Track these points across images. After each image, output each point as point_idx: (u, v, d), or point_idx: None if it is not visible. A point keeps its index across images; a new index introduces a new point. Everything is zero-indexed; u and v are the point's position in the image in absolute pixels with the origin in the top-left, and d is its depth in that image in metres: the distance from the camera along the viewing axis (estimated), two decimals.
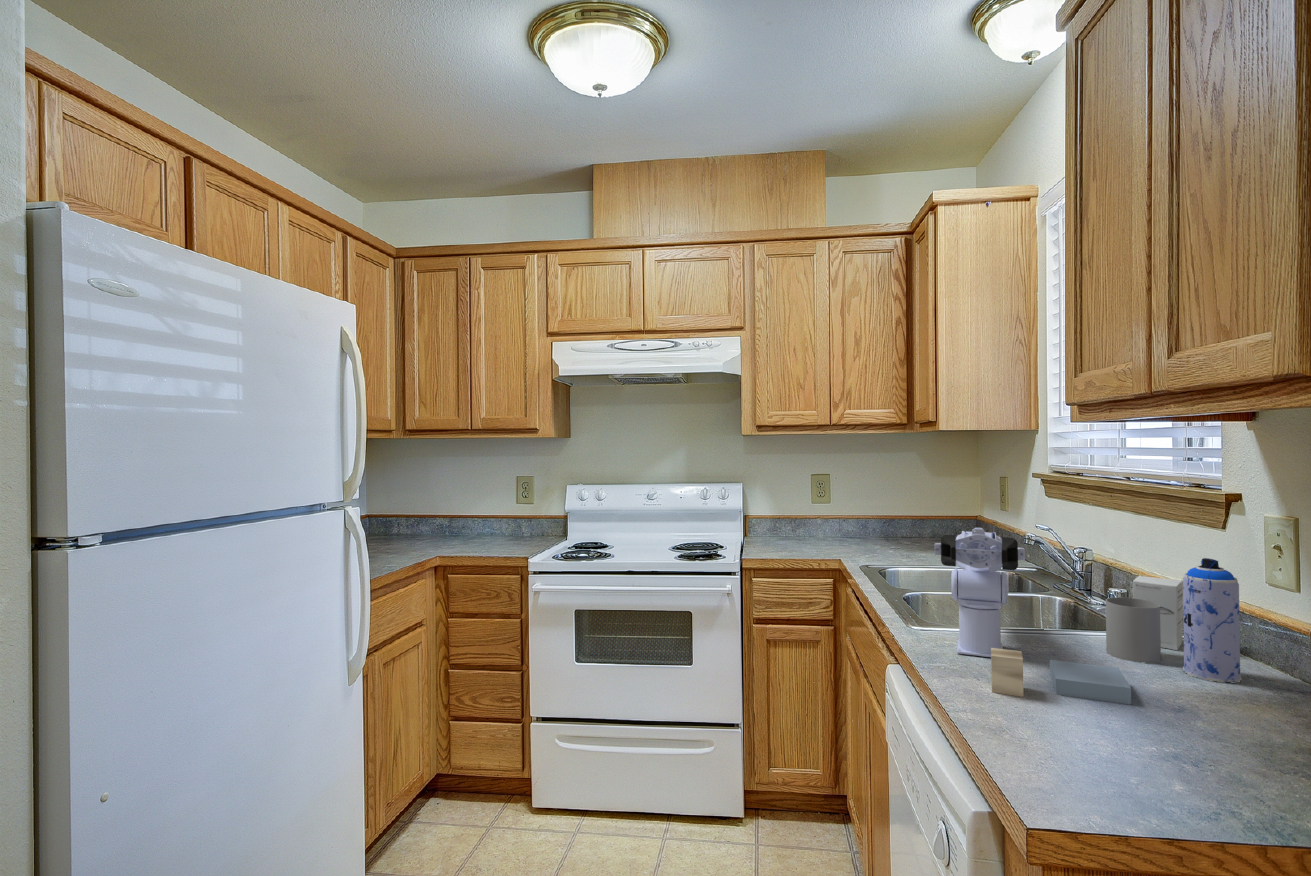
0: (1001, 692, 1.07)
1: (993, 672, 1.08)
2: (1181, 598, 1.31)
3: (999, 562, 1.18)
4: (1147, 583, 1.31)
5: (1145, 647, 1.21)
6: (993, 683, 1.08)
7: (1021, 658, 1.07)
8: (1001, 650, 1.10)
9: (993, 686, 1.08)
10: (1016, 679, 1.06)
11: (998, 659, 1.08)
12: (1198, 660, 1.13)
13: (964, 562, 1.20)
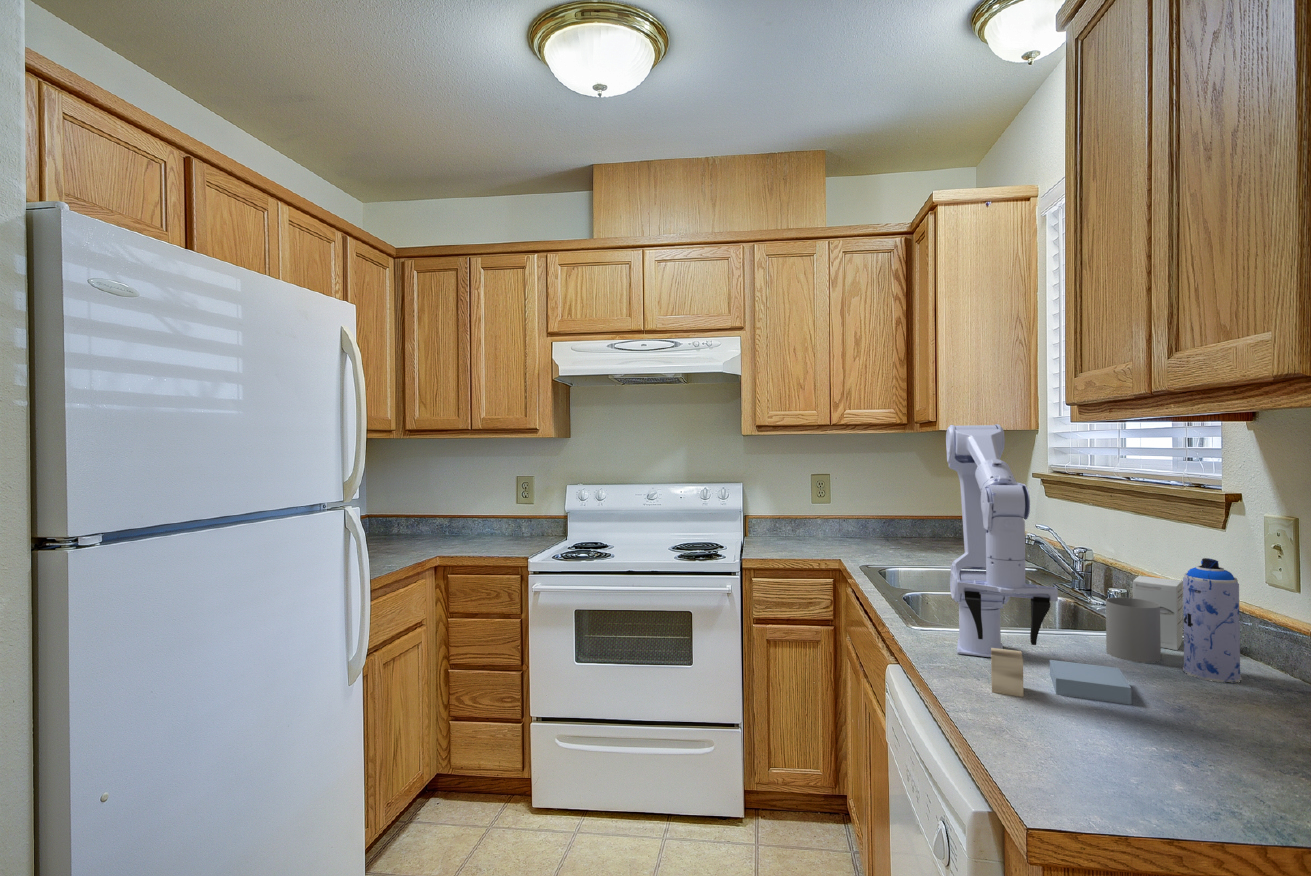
0: (1001, 692, 1.07)
1: (993, 672, 1.08)
2: (1181, 598, 1.31)
3: None
4: (1147, 583, 1.31)
5: (1145, 647, 1.21)
6: (993, 683, 1.08)
7: (1021, 658, 1.07)
8: (1001, 650, 1.10)
9: (993, 686, 1.08)
10: (1016, 679, 1.06)
11: (998, 659, 1.08)
12: (1198, 660, 1.13)
13: None
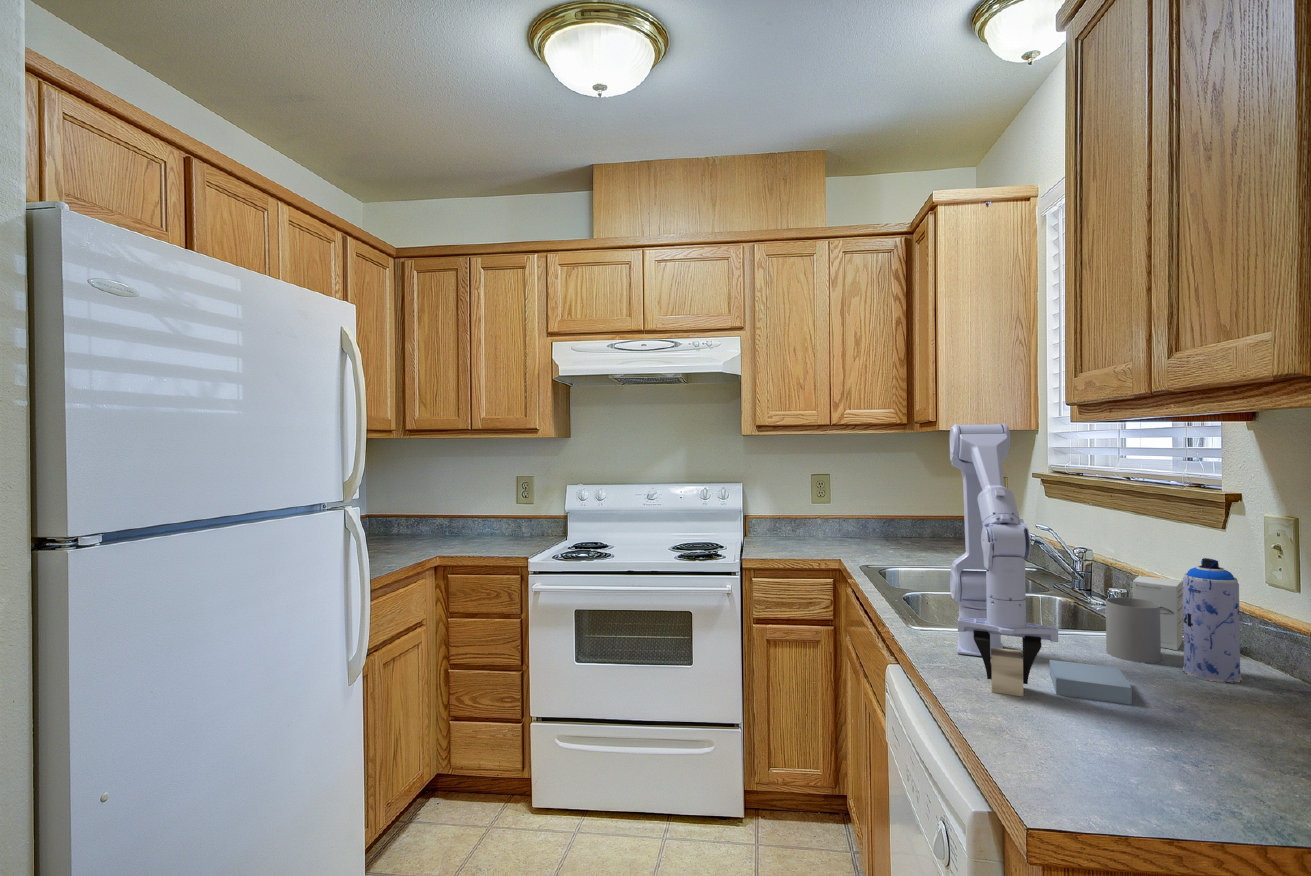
0: (1001, 692, 1.07)
1: (993, 672, 1.08)
2: (1181, 598, 1.31)
3: None
4: (1147, 583, 1.31)
5: (1145, 647, 1.21)
6: (993, 683, 1.08)
7: (1021, 658, 1.07)
8: (1001, 650, 1.10)
9: (993, 686, 1.08)
10: (1016, 679, 1.06)
11: (998, 659, 1.08)
12: (1198, 660, 1.13)
13: None
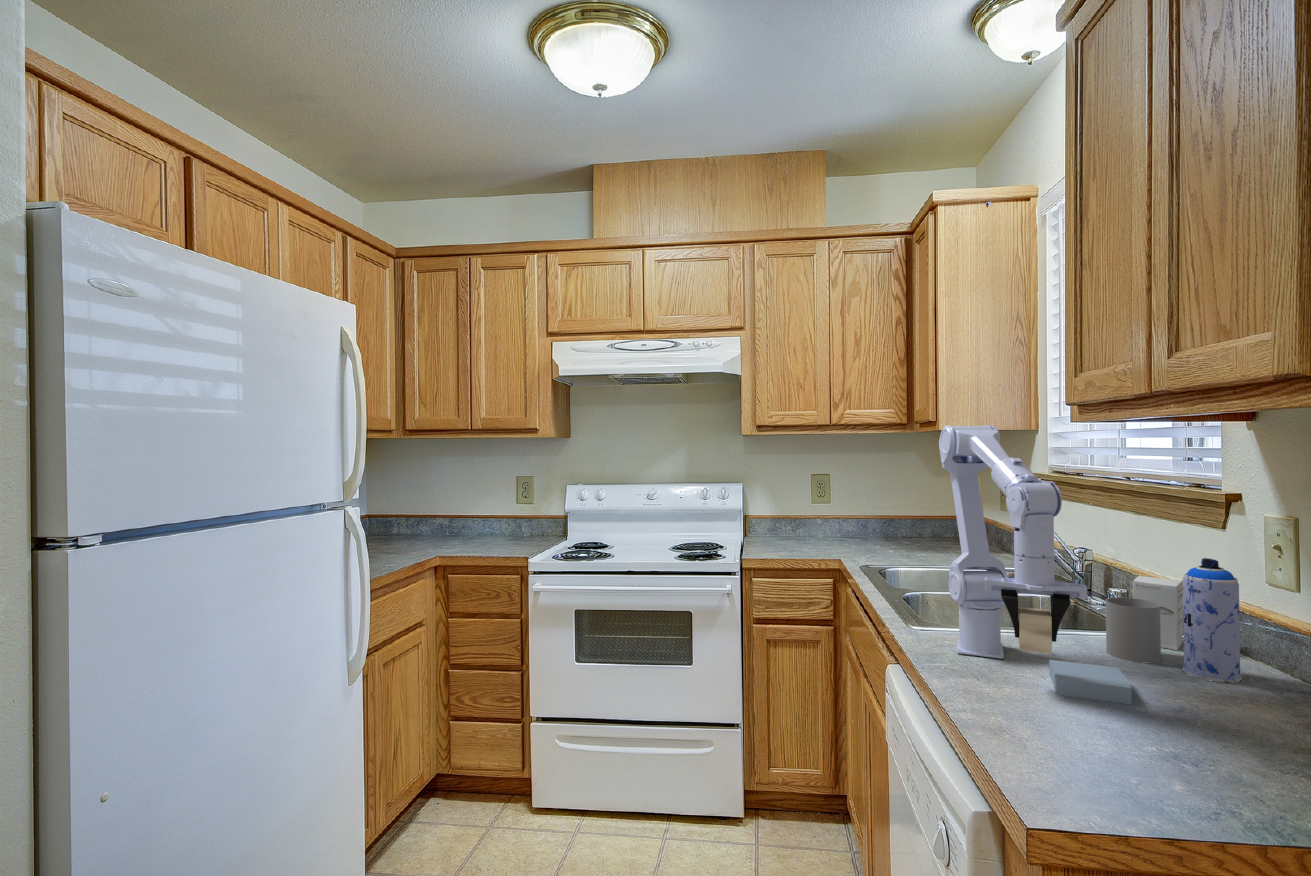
0: (1029, 650, 1.07)
1: (1021, 630, 1.08)
2: (1181, 598, 1.31)
3: None
4: (1147, 583, 1.31)
5: (1145, 647, 1.21)
6: (1021, 641, 1.08)
7: (1050, 616, 1.07)
8: (1029, 609, 1.10)
9: (1021, 644, 1.08)
10: (1044, 637, 1.06)
11: (1026, 617, 1.08)
12: (1198, 660, 1.13)
13: None
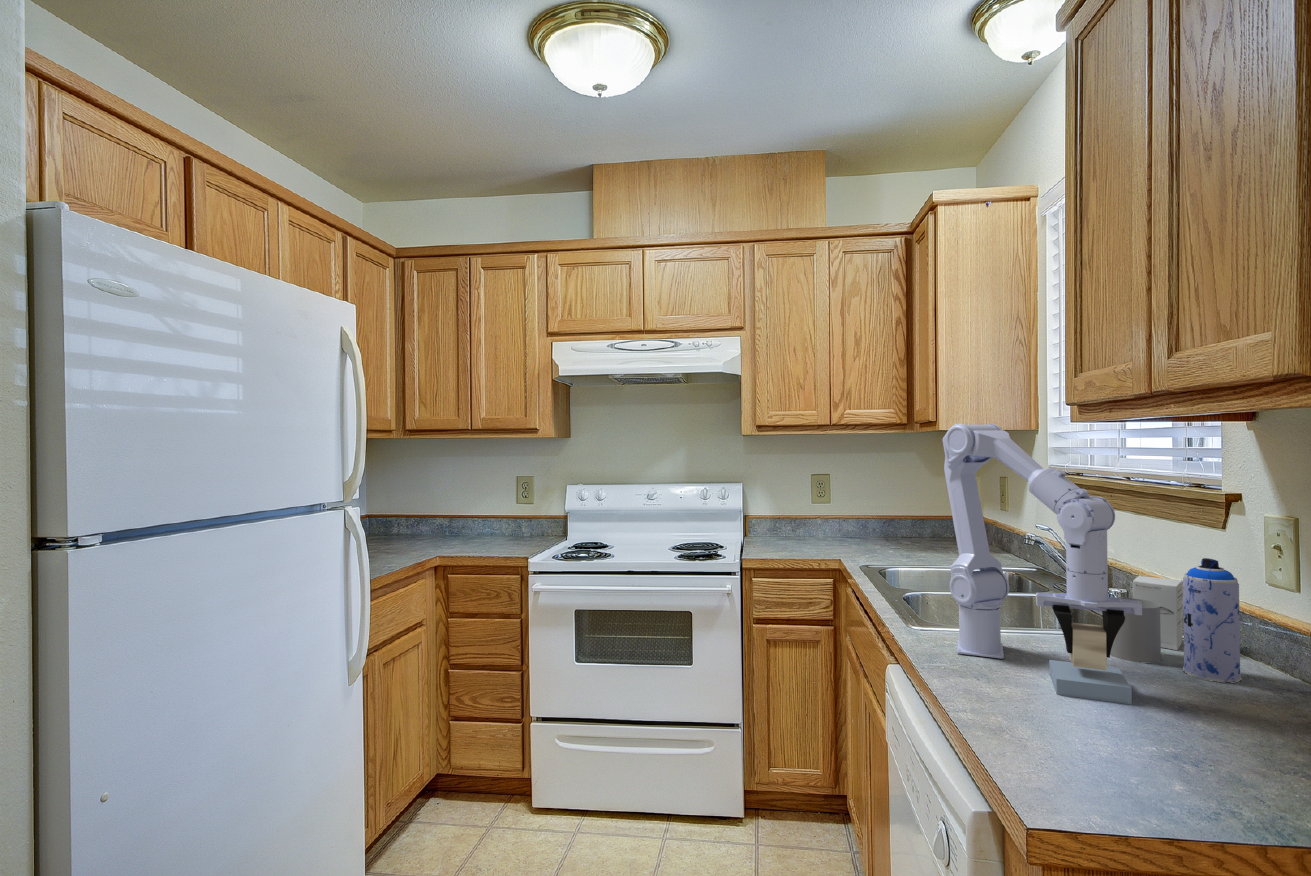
0: (1083, 666, 1.07)
1: (1075, 646, 1.08)
2: (1181, 598, 1.31)
3: None
4: (1147, 583, 1.31)
5: (1145, 647, 1.21)
6: (1075, 657, 1.08)
7: (1104, 632, 1.07)
8: (1081, 625, 1.10)
9: (1075, 660, 1.08)
10: (1099, 653, 1.06)
11: (1080, 633, 1.08)
12: (1198, 660, 1.13)
13: None
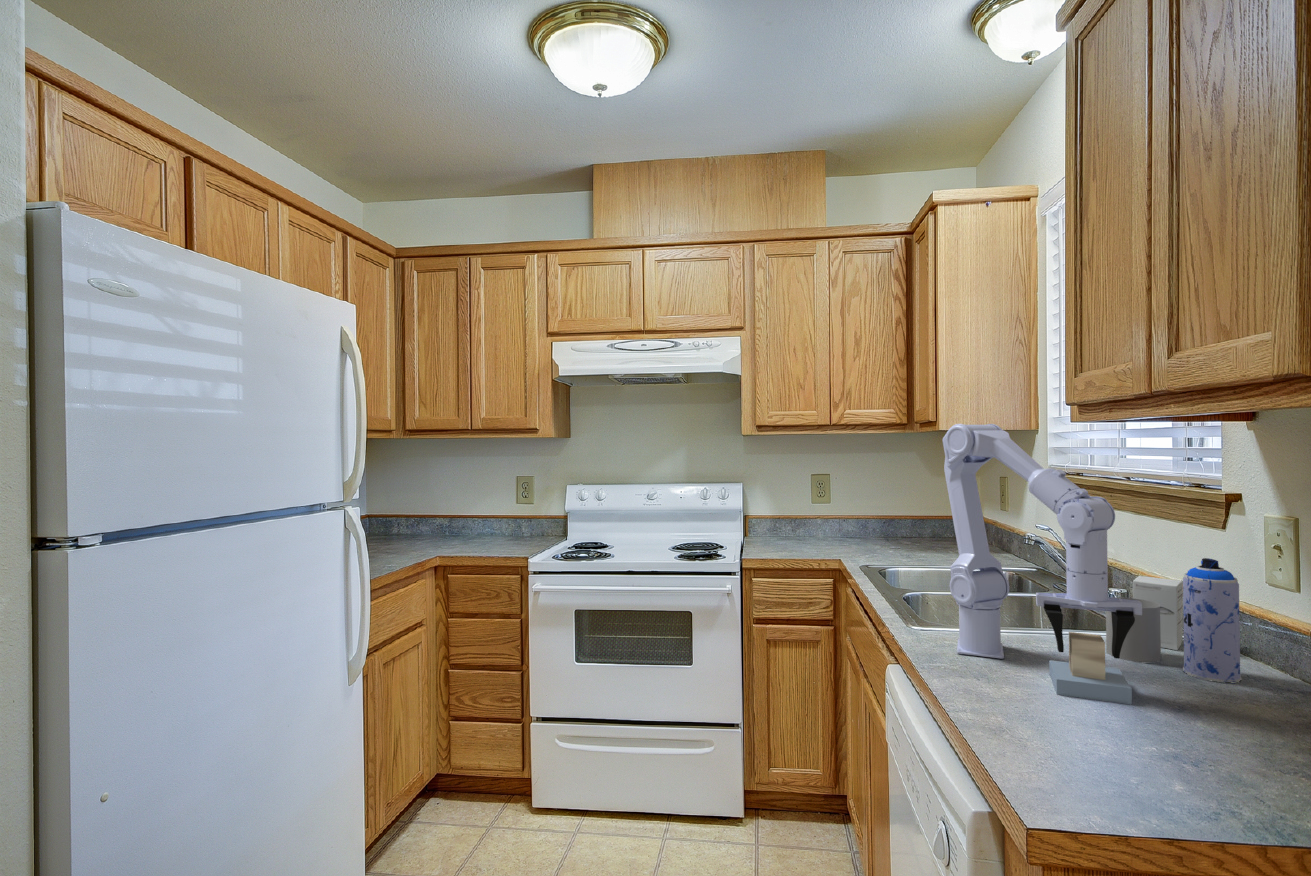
0: (1082, 675, 1.08)
1: (1074, 655, 1.08)
2: (1181, 598, 1.31)
3: None
4: (1147, 583, 1.31)
5: (1145, 647, 1.21)
6: (1074, 666, 1.08)
7: (1103, 641, 1.07)
8: (1080, 634, 1.10)
9: (1074, 669, 1.08)
10: (1097, 662, 1.07)
11: (1079, 643, 1.08)
12: (1198, 660, 1.13)
13: None
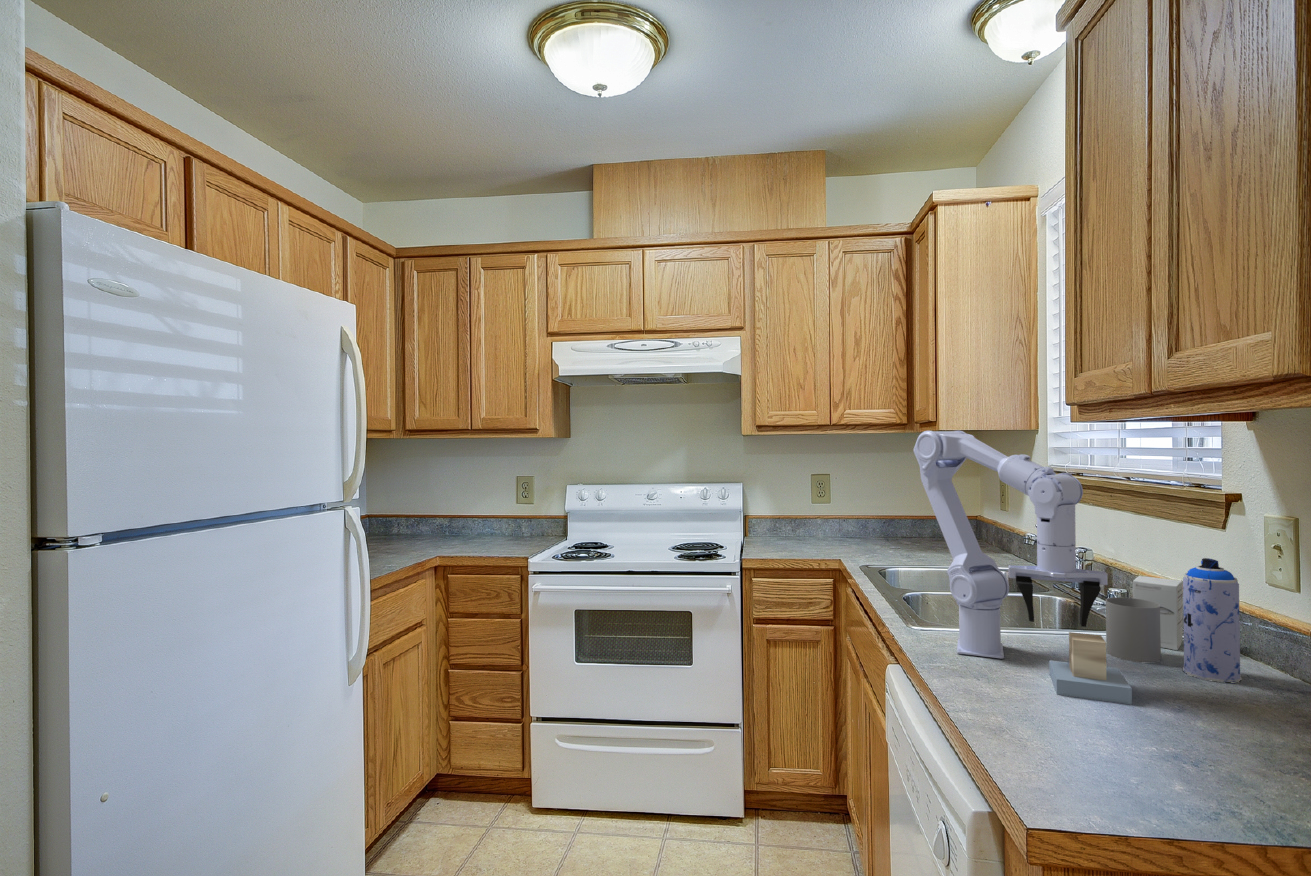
0: (1083, 676, 1.07)
1: (1075, 656, 1.08)
2: (1181, 598, 1.31)
3: None
4: (1147, 583, 1.31)
5: (1145, 647, 1.21)
6: (1075, 667, 1.08)
7: (1104, 642, 1.06)
8: (1080, 635, 1.10)
9: (1075, 670, 1.08)
10: (1099, 663, 1.06)
11: (1080, 643, 1.07)
12: (1198, 660, 1.13)
13: None
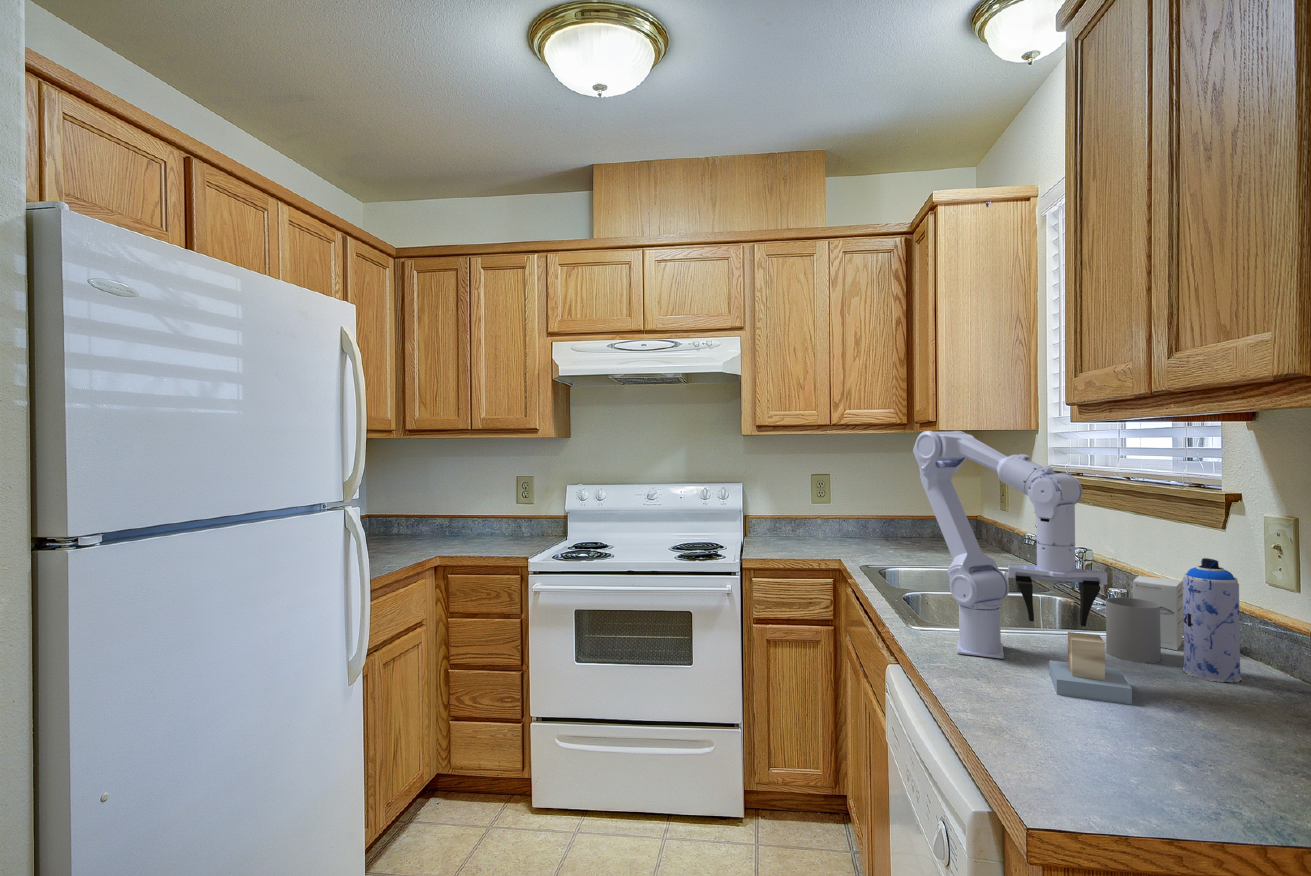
0: (1082, 676, 1.07)
1: (1073, 656, 1.08)
2: (1181, 598, 1.31)
3: None
4: (1147, 583, 1.31)
5: (1145, 647, 1.21)
6: (1073, 667, 1.08)
7: (1102, 641, 1.07)
8: (1079, 634, 1.10)
9: (1073, 670, 1.08)
10: (1097, 662, 1.07)
11: (1079, 643, 1.08)
12: (1198, 660, 1.13)
13: None
